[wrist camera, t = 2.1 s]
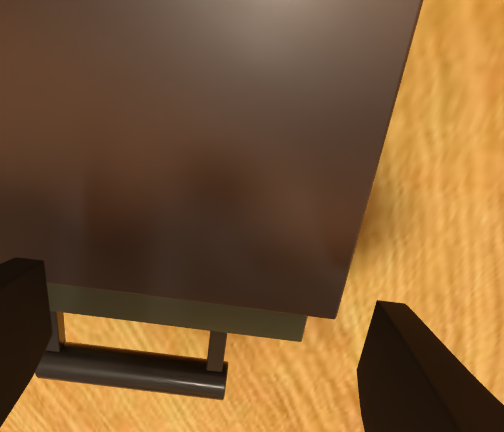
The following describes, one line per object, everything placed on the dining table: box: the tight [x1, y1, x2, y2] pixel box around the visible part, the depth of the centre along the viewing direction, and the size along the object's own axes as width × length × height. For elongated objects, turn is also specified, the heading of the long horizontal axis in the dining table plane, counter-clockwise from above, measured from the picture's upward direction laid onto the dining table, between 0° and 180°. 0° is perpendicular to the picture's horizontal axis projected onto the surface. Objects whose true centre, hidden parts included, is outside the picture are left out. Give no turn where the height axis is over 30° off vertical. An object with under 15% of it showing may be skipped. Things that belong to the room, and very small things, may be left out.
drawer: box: [35, 283, 308, 400], centre depth 15 cm, size 18×11×7 cm, turn 173°
